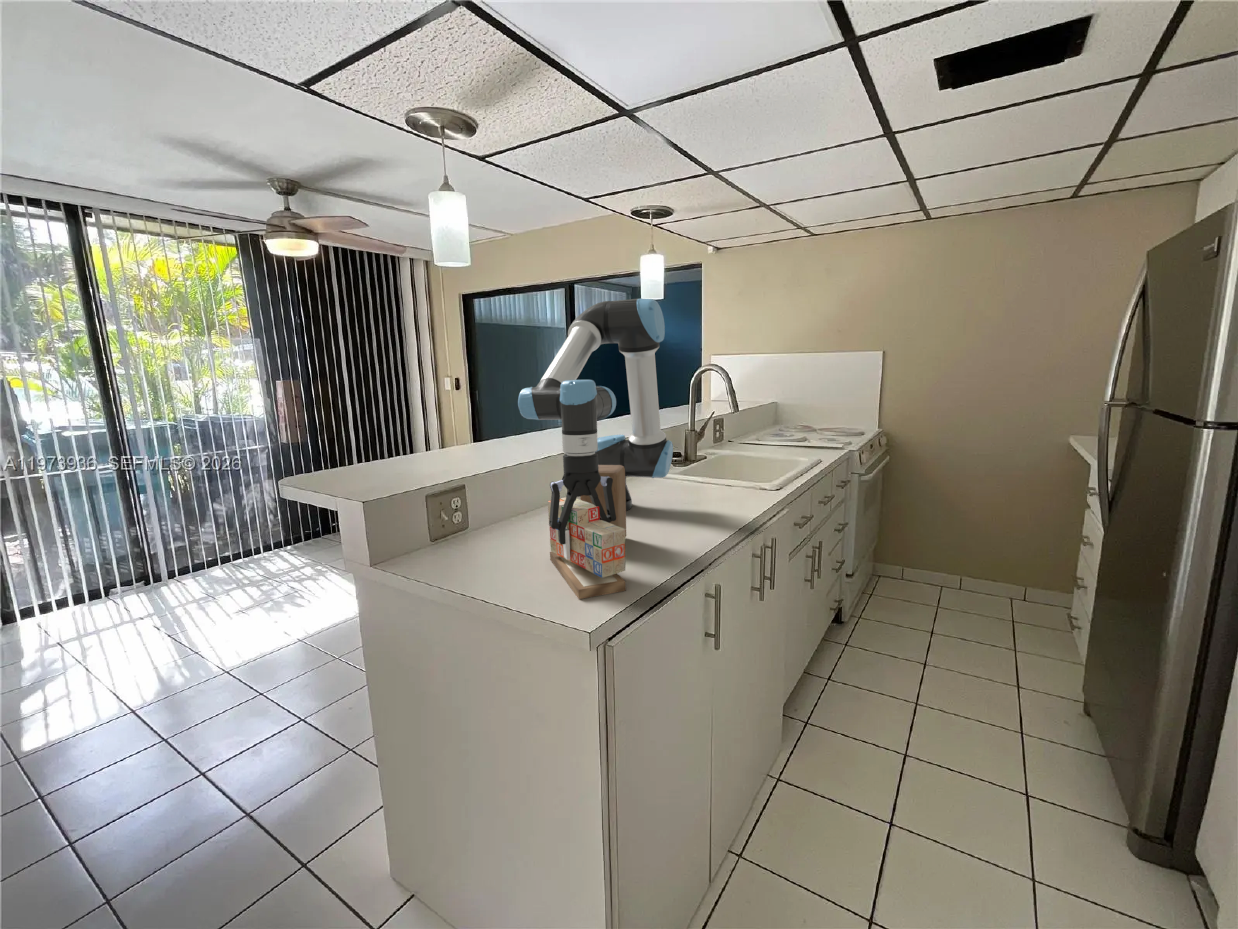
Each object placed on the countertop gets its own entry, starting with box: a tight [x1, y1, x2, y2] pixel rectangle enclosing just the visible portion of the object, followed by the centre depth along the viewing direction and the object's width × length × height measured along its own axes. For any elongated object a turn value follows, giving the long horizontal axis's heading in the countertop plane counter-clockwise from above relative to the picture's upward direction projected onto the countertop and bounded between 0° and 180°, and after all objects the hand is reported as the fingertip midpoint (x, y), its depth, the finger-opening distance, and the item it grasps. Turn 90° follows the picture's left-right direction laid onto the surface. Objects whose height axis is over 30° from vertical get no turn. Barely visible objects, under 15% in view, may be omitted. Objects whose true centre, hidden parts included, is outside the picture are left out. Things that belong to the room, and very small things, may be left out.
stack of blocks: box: [547, 497, 626, 578], centre depth 118 cm, size 21×6×12 cm, turn 37°
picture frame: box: [549, 551, 627, 600], centre depth 120 cm, size 10×24×2 cm, turn 21°
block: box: [579, 465, 627, 539], centre depth 138 cm, size 10×10×20 cm
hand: (584, 554), depth 119 cm, fingers closed on stack of blocks, 7 cm apart
